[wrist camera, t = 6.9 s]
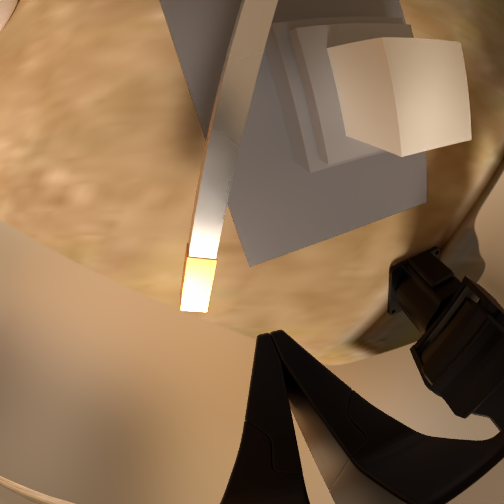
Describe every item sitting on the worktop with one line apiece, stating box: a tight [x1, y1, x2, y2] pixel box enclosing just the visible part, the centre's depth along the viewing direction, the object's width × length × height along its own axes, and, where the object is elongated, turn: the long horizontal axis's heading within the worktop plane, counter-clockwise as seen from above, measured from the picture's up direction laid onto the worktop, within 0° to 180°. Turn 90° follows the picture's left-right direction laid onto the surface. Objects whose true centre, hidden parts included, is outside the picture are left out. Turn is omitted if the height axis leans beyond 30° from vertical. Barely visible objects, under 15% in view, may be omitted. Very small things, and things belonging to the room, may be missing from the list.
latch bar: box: [180, 0, 278, 312], centre depth 10 cm, size 19×2×1 cm, turn 166°
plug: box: [288, 23, 471, 165], centre depth 11 cm, size 7×7×8 cm
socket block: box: [160, 0, 427, 267], centre depth 14 cm, size 20×15×6 cm
